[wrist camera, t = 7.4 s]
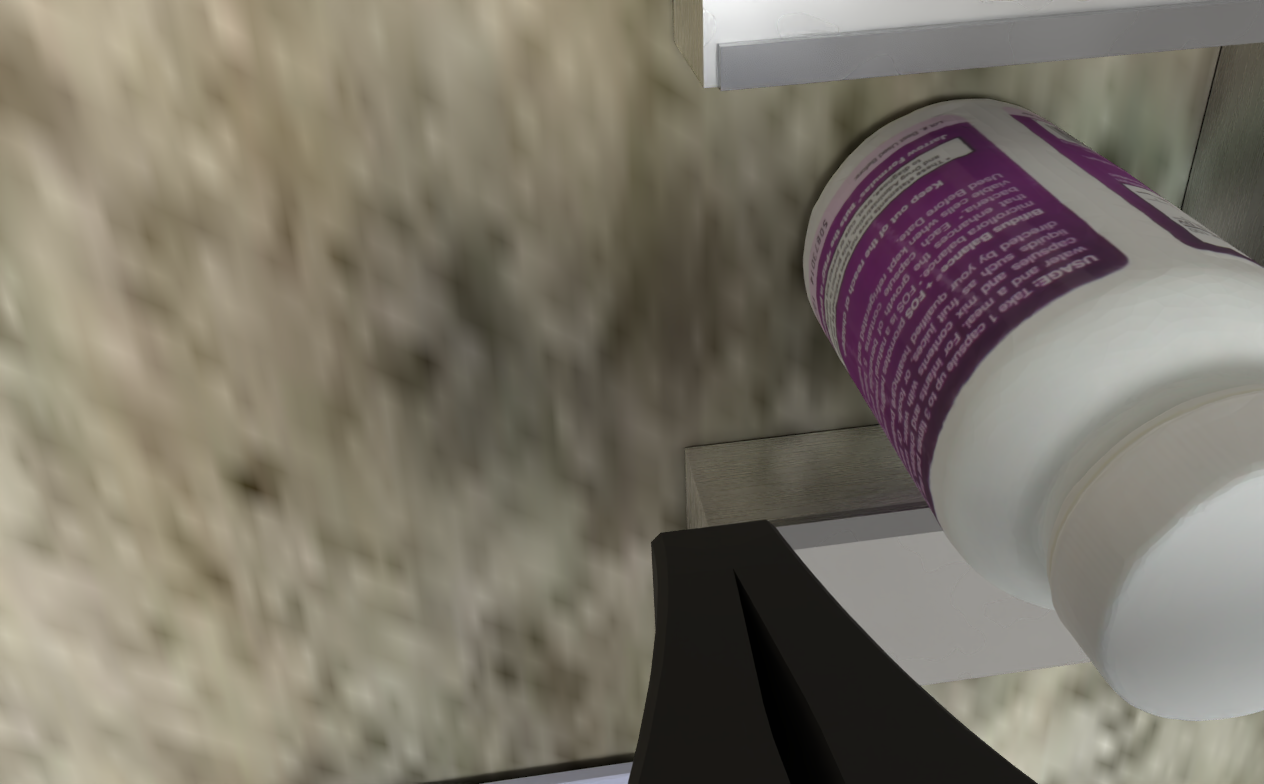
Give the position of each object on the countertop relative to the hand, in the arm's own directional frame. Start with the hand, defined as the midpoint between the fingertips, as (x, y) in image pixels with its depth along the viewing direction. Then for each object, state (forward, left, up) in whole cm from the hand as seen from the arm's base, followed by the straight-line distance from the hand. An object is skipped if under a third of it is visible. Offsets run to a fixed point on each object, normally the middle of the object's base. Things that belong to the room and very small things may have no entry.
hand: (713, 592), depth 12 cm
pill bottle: (0, -6, -8) cm, 10 cm away
